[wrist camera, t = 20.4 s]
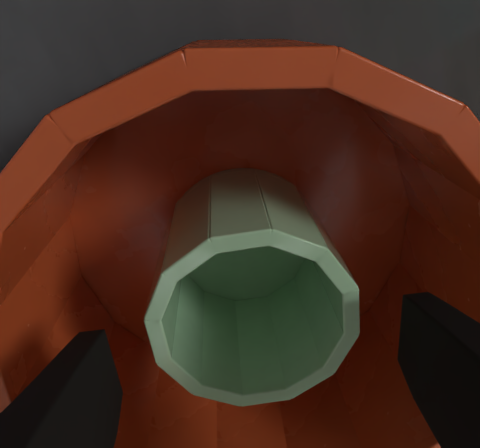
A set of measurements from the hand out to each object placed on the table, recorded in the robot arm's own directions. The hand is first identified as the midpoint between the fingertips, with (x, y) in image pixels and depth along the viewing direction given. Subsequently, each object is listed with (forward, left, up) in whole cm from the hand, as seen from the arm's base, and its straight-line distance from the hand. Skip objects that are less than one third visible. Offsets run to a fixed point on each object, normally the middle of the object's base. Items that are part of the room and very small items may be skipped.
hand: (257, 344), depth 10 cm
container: (0, 0, -6) cm, 6 cm away
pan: (0, 0, -6) cm, 6 cm away
